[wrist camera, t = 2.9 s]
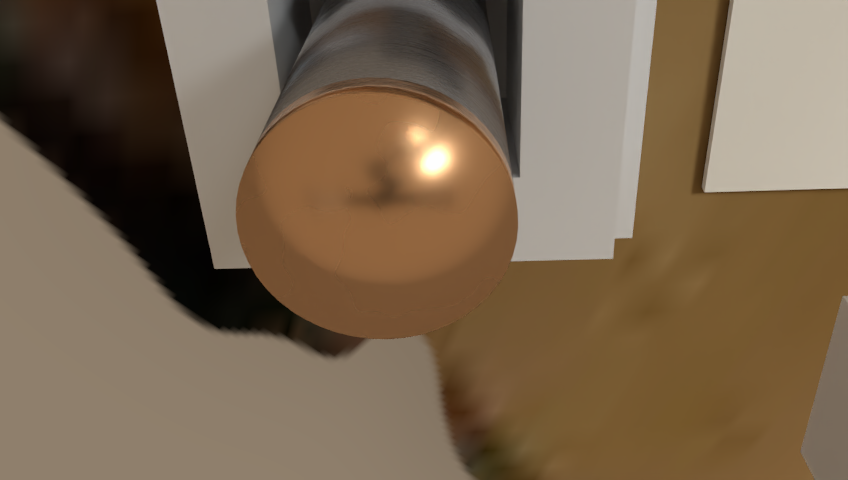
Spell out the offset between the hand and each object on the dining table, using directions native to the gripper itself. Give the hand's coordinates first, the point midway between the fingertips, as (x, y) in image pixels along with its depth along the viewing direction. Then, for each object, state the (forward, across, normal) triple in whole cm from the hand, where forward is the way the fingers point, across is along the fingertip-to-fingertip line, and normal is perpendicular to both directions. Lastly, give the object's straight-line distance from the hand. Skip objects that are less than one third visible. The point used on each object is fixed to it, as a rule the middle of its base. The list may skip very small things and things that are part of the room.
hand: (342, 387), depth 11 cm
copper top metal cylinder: (+18, 0, 0) cm, 18 cm away
